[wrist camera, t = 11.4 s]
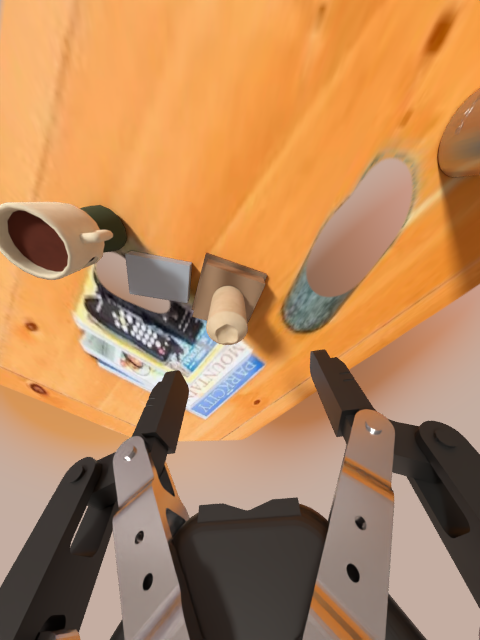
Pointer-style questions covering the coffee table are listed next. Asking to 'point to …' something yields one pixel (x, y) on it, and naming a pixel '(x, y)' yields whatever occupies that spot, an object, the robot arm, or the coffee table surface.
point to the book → (158, 276)
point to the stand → (227, 284)
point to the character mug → (57, 236)
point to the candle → (227, 316)
